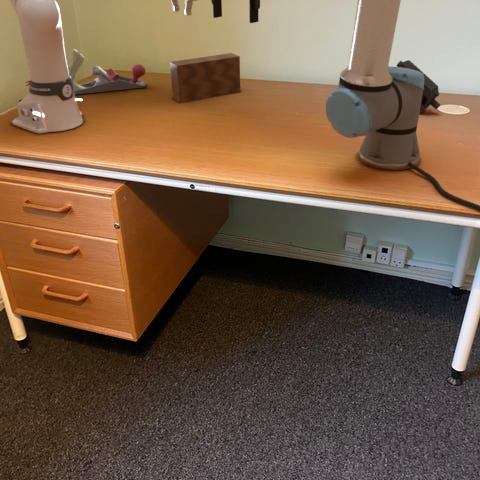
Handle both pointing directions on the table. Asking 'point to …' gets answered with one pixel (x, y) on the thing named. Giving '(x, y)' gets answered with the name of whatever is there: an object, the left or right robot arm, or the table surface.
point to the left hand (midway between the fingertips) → (182, 13)
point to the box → (205, 77)
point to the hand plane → (104, 78)
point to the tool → (429, 87)
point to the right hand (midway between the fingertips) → (235, 19)
